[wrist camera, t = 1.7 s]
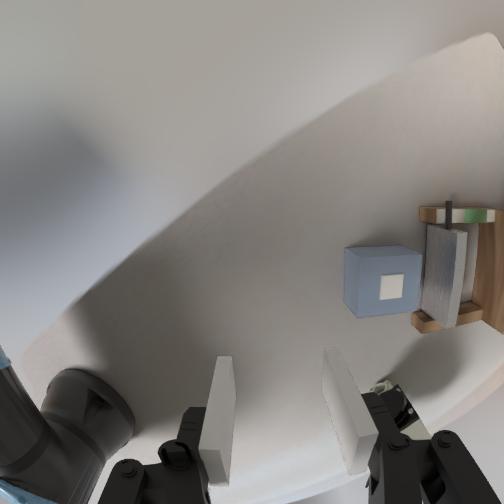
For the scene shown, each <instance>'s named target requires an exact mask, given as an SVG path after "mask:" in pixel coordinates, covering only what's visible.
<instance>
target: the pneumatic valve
mask: <svg viewBox="0 0 504 504" xmlns="http://www.w3.org/2000/svg"><path fill="white" fill-rule="evenodd" d="M370 392H375V393H376V394H378V395H379V396H380V397H382V399H383V401H384V403H385V406H387V408H388V410H389V412H390V414H391V415H392V417H393V419H394V421H395V423H396V425H397V427H398V428H399V430H400V432H401V433H403V434H406V435H408V436H409V437H410V438H411V439H413V440H426V439H431V437H430V435H429V433H428V431H427V430H426V428H425V426H424V424H423V423H422V421H421V419H420V418H419V416H418V414H417V413H416V411H415V410H414V408H413V407H412V405H411V403H410V402H409V400H408V399H407V397H406V396H405V394H404V393H403V391H402V390H401V388H400V387H399V385H398V384H397V385H396V386H395V387H393V385H392V384H391V382H390V381H389V380H385V381H384V383H378V384H377V385H375V386H374V387H373V389H372V390H370V391H369V393H370Z"/></svg>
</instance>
